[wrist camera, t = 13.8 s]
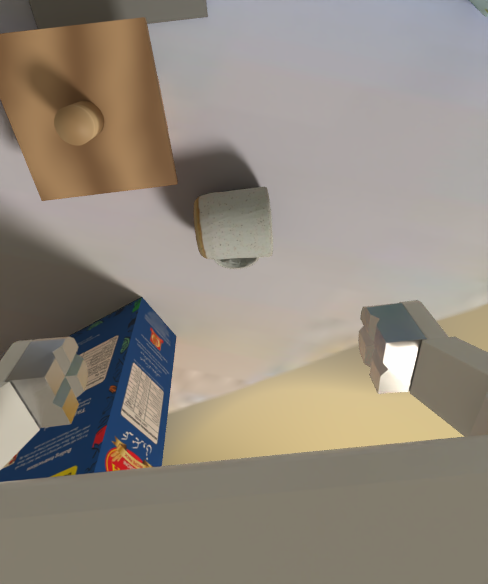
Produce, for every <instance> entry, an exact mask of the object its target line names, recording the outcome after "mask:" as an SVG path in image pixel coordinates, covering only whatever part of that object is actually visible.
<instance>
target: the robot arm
mask: <svg viewBox="0 0 488 584" xmlns="http://www.w3.org/2000/svg"><path fill="white" fill-rule="evenodd" d="M360 319H361V321H362V323H363V325H364V326H363V327H362V328H361V329H360V331H359V339H358V341H359V350H360V354H361V357H362V359H363V362H364V363H365V364H366V365H368V366H369V367H370V368H371V369H370V377H371V379H372V382H373V384H374V386H375V388H376V390H377V393H378V394H382V393H394V392H395V393H396V392H410V394H412V395H413V396H414V397H416V398H417V399H418V400H419V401H421V402H422V403H423V404H424V405H426V406H427V407H428V408H429V409H431V410H432V411H433V412H435V413H436V414H437V415H438V416H440V417H441V418H442V419H443V420H445V421H446V422H447V423H448V424H450V425H451V426H452V427H453V428H455V429H456V430H457V431H458V432H460V433H461V434H462V435H464V436H465V437H457V438H448V439H436V440H426V441H416V442H406V443H395V444H386V445H376V446H365V447H355V448H344V449H334V450H324V451H313V452H303V453H293V454H282V455H272V456H263V457H252V458H241V459H231V460H221V461H211V462H201V463H190V464H180V465H171V466H160V467H149V468H139V469H129V470H119V471H108V472H98V473H88V474H78V475H67V476H57V477H47V478H37V479H27V480H16V481H6V482H0V584H488V352H486V351H483V350H481V349H479V348H477V347H475V346H473V345H471V344H469V343H467V342H465V341H462V340H460V339H458V338H456V337H448V336H447V334H446V333H445V332H444V330H443V329H442V328H441V327H440V325H439V324H438V323H437V322H436V320H435V319H434V318H433V316H432V315H431V314H430V313H429V311H428V310H427V309H426V308H425V306H424V305H423V304H422V303H421V302H420V301H418V300H415V301H407V302H399V303H395V304H386V305H376V306H367V307H363V308H362V311H361V318H360ZM77 350H78V345H77V343H76V341H75V339H74V338H72V337H57V338H44V339H35V340H23V341H17V342H15V343H13V344H12V345H11V346H10V348H9V349H8V351H7V352H6V353H5V355H4V356H3V358H2V359H1V360H0V470H1V469H2V468H3V467H4V466H5V465H6V464H7V463H8V462H9V461H10V460H11V459H12V458H13V457H14V456H15V455H16V454H17V453H18V452H19V451H20V450H21V449H22V448H23V447H24V446H25V445H26V444H27V443H28V442H29V441H30V439H31V438H32V437H33V436H34V435H35V434H36V433H37V432H38V431H39V430H40V429H39V428H45V427H53V426H61V425H69V424H71V423H72V421H73V418H74V416H75V413H76V411H77V408H78V406H79V403H78V401H77V399H76V398H77V397H78V396H79V395H81V394H82V393H83V392H84V391H85V388H86V385H87V382H88V369H87V365H86V362H85V360H84V359H83V358H82V357H80V356H79V355H77V354H76V352H77Z"/></svg>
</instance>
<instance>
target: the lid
mask: <svg viewBox="0 0 488 584" xmlns="http://www.w3.org/2000/svg"><path fill="white" fill-rule="evenodd" d="M0 99H1V102H2V104H3V107H4V109H5V111H6V114H7V116H8V119H9V121H10V124H11V126H12V129H13V131H14V134H15V136H16V138H17V141H18V143H19V146H20V148H21V151H22V153H23V156H24V158H25V160H26V163H27V165H28V168H29V170H30V173H31V175H32V178H33V180H34V183H35V185H36V187H37V190H38V192H39V195H40V197H41V200H42V201H46V200H54V199H62V198H70V197H78V196H87V195H95V194H103V193H111V192H119V191H128V190H136V189H144V188H152V187H160V186H169V185H177V183H178V180H177V175H176V169H175V164H174V159H173V154H172V149H171V144H170V139H169V134H168V129H167V123H166V118H165V113H164V108H163V103H162V98H161V93H160V88H159V83H158V77H157V72H156V67H155V62H154V57H153V52H152V47H151V42H150V37H149V31H148V26H147V21H146V18H145V17H142V18H133V19H124V20H115V21H107V22H98V23H89V24H81V25H72V26H63V27H55V28H46V29H37V30H29V31H20V32H11V33H3V34H0Z"/></svg>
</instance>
